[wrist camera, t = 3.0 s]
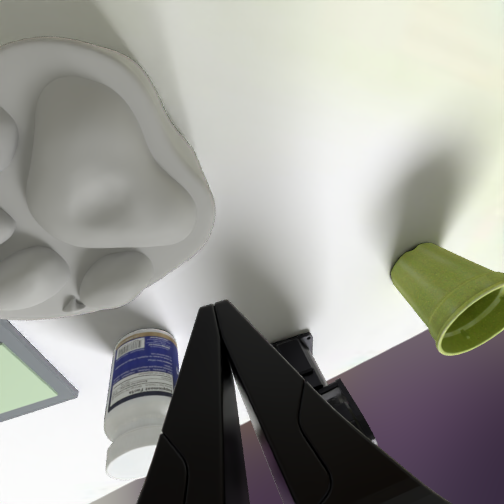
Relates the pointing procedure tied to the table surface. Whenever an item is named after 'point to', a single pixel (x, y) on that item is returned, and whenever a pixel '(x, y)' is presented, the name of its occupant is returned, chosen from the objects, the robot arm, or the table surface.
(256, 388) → the robot arm
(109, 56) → the lumpy-topped squat cylinder
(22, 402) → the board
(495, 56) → the table surface
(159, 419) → the pill bottle
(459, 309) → the plant pot
